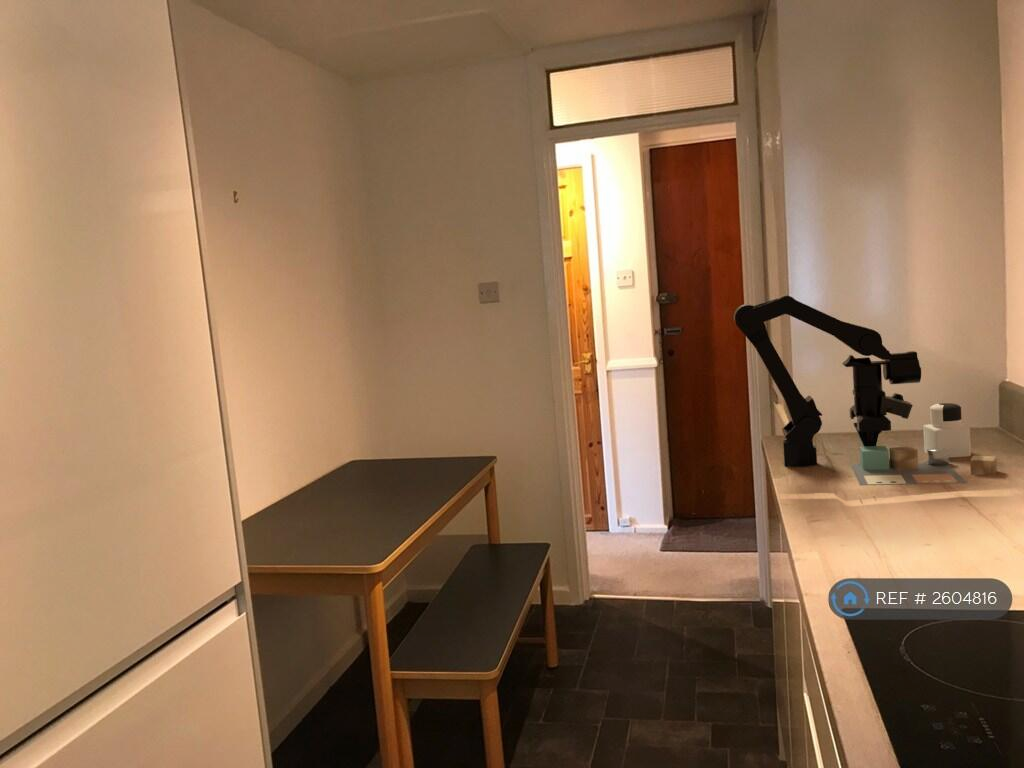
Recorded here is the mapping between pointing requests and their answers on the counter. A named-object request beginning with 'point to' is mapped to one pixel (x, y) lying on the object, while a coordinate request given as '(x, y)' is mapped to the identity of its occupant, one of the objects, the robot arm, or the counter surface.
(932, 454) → the metal tin
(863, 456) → the green cube
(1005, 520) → the counter surface
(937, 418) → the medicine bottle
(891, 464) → the oak cube
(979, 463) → the oak cube
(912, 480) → the board
